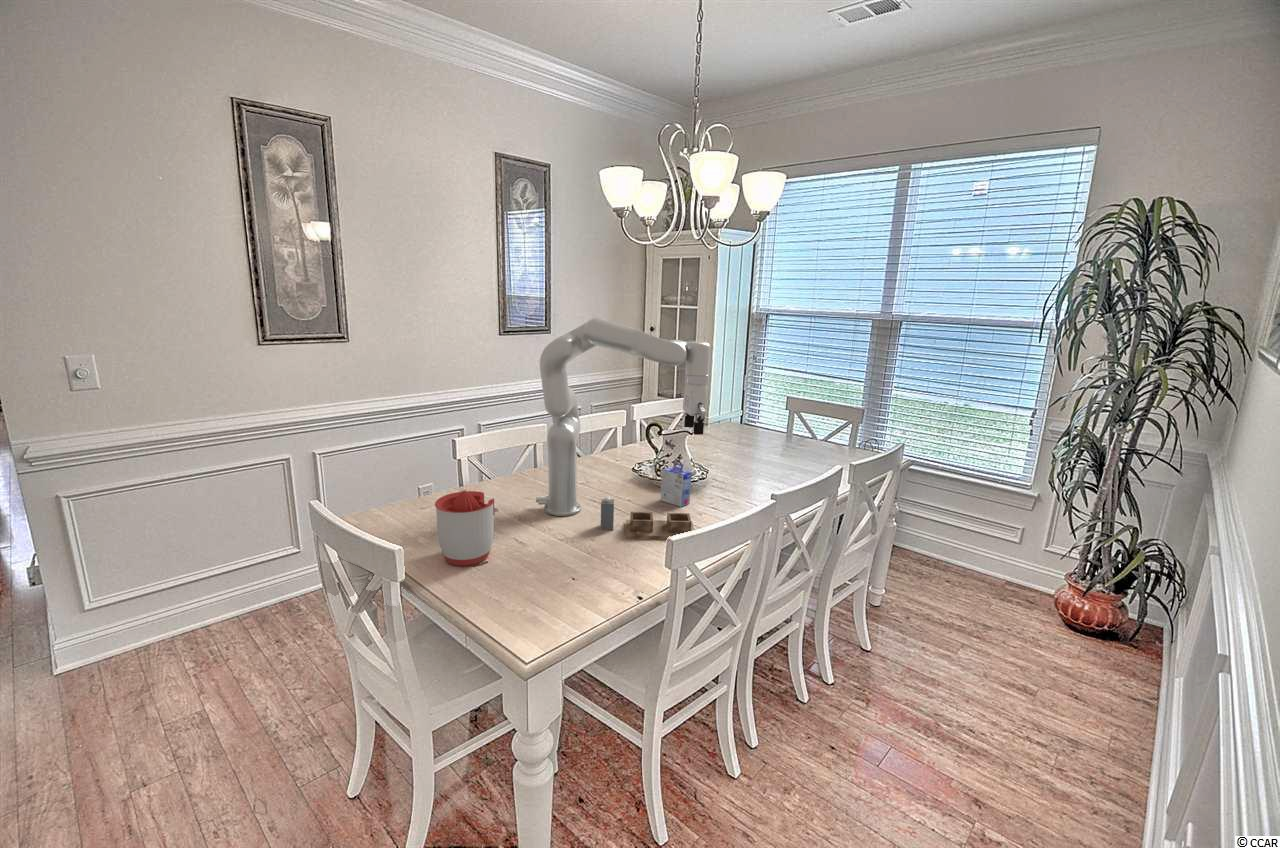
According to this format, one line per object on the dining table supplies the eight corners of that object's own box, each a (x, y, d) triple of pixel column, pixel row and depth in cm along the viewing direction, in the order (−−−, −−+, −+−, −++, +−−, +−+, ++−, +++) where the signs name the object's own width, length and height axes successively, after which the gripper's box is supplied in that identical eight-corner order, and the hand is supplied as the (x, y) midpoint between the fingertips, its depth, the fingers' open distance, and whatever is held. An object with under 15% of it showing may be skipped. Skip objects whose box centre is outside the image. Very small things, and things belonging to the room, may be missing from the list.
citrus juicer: (511, 557, 159) (510, 490, 155) (453, 576, 148) (450, 505, 143) (484, 538, 170) (482, 476, 166) (428, 555, 159) (424, 488, 154)
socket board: (625, 538, 174) (625, 523, 172) (625, 522, 185) (626, 508, 184) (696, 540, 174) (697, 525, 173) (691, 524, 186) (692, 510, 185)
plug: (600, 530, 179) (601, 500, 177) (601, 524, 183) (601, 495, 181) (613, 530, 179) (613, 500, 177) (613, 525, 183) (614, 495, 181)
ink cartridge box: (690, 503, 204) (692, 465, 201) (681, 507, 200) (683, 469, 197) (668, 496, 210) (670, 459, 207) (659, 500, 206) (661, 463, 203)
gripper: (677, 375, 190) (675, 424, 194) (694, 384, 174) (690, 437, 178) (698, 375, 192) (695, 424, 196) (716, 384, 175) (713, 437, 179)
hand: (693, 430), depth 187 cm, fingers open, 9 cm apart
